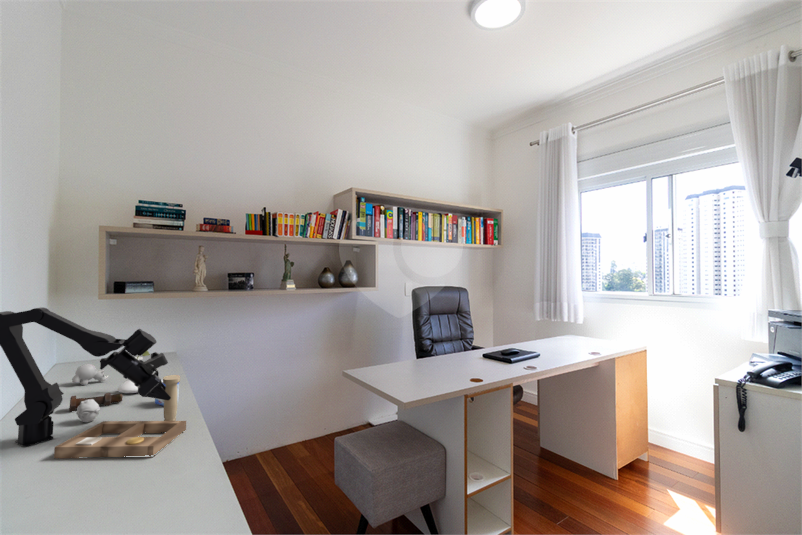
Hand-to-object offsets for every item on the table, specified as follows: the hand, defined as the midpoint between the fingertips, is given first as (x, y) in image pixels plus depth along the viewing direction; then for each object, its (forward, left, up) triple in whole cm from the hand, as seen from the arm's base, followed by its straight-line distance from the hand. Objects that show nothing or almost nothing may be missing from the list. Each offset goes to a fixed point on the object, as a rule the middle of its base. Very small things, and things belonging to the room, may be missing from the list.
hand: (168, 395), depth 125 cm
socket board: (-15, -4, -9) cm, 18 cm away
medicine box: (+12, +19, -9) cm, 24 cm away
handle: (+1, 0, -9) cm, 9 cm away
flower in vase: (+15, +44, -9) cm, 47 cm away
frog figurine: (-11, +24, -9) cm, 28 cm away
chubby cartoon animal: (+12, +73, -9) cm, 74 cm away
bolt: (-3, +37, -10) cm, 38 cm away
